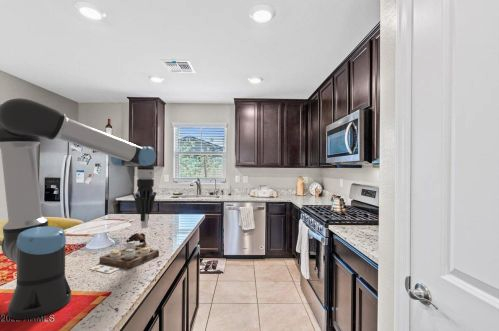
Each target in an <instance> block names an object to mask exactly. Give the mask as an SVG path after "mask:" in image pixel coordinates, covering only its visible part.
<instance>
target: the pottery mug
mask: <svg viewBox="0 0 499 331" xmlns="http://www.w3.org/2000/svg"><path fill="white" fill-rule="evenodd" d="M131 241H134V242H139V243H140V244H141V245H142V246H143V247H142V248H146V246H147V241H146V235H145V233H143V232H141V233H139V232H136V233H134V234H133V235H131V236H129V237H128V239H126V240H125V242H126V243H127V242H131Z"/></svg>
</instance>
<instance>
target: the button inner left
mask: <svg viewBox="0 0 499 331" xmlns="http://www.w3.org/2000/svg"><path fill="white" fill-rule="evenodd" d="M109 254H110V258H117V257H119V256H121V252H120V251H119V250H113V251H111V252H110V253H109Z"/></svg>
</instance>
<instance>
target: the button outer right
mask: <svg viewBox="0 0 499 331" xmlns="http://www.w3.org/2000/svg"><path fill="white" fill-rule="evenodd" d="M140 248H141V250H140V254H143V255H146V254H148V253H150V249H151V248H150V247H140Z"/></svg>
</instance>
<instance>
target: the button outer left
mask: <svg viewBox="0 0 499 331" xmlns="http://www.w3.org/2000/svg"><path fill="white" fill-rule="evenodd" d="M125 245H126V246H125V248H126V250H127V249H134V250H136V247H137V241H131V242H126V243H125Z"/></svg>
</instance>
